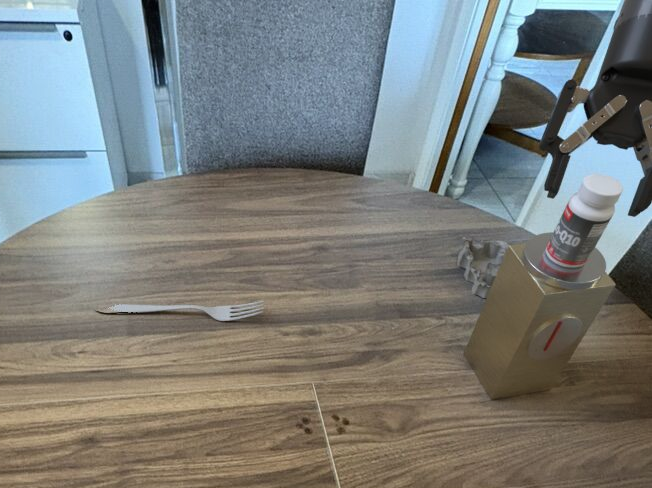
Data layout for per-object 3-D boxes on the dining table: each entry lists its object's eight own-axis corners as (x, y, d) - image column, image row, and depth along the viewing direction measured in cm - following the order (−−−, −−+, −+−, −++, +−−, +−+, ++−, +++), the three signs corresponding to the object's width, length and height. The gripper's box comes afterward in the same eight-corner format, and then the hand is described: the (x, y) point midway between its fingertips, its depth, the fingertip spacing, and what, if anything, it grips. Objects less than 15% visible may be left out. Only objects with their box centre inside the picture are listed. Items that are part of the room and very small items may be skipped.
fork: (96, 301, 88) (93, 291, 87) (263, 308, 89) (264, 298, 88) (92, 316, 87) (90, 306, 85) (263, 323, 88) (264, 313, 86)
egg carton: (452, 257, 98) (459, 233, 95) (496, 254, 99) (505, 231, 96) (472, 300, 93) (481, 277, 89) (519, 298, 93) (530, 275, 90)
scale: (520, 343, 88) (580, 228, 73) (553, 392, 83) (624, 279, 68) (462, 352, 86) (510, 236, 71) (491, 402, 82) (550, 289, 66)
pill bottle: (536, 249, 70) (569, 176, 63) (567, 239, 71) (603, 167, 64) (564, 273, 68) (602, 201, 61) (595, 262, 69) (636, 190, 62)
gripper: (593, -3, 58) (532, 178, 62) (750, 25, 56) (678, 210, 60) (570, 40, 66) (518, 201, 69) (709, 66, 64) (647, 229, 67)
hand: (592, 205), depth 65 cm, fingers open, 8 cm apart
